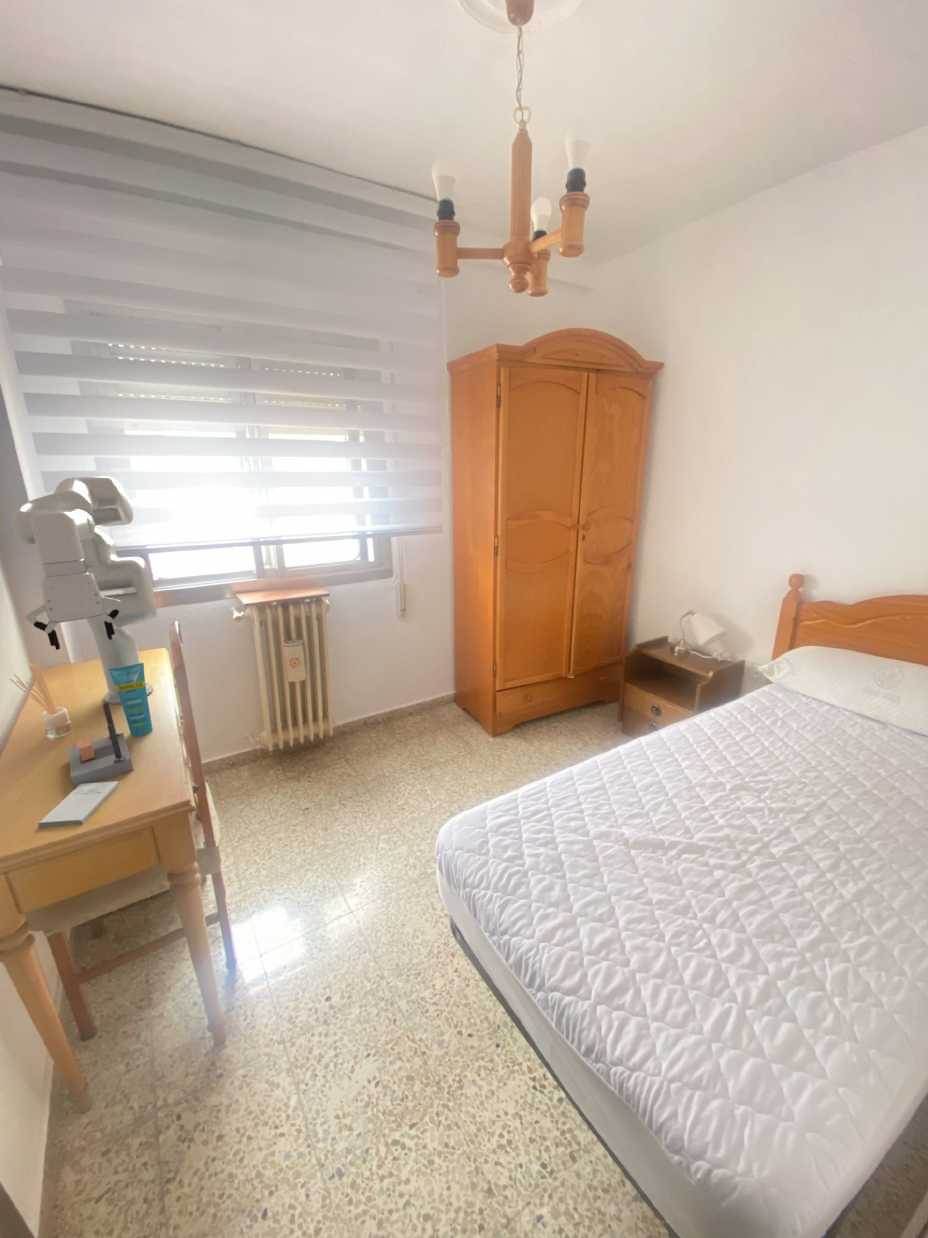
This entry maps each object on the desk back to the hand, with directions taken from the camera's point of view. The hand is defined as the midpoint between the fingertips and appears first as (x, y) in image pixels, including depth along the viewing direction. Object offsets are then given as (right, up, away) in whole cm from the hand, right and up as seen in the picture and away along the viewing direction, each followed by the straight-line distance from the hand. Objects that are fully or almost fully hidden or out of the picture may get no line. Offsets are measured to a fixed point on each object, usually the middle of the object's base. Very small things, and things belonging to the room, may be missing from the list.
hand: (84, 643), depth 112 cm
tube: (+1, -25, +18) cm, 31 cm away
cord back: (-1, -24, +10) cm, 26 cm away
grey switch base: (+1, -29, +4) cm, 29 cm away
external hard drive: (+7, -34, -9) cm, 36 cm away
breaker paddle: (-1, -26, +2) cm, 26 cm away
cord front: (+8, -27, 0) cm, 28 cm away
